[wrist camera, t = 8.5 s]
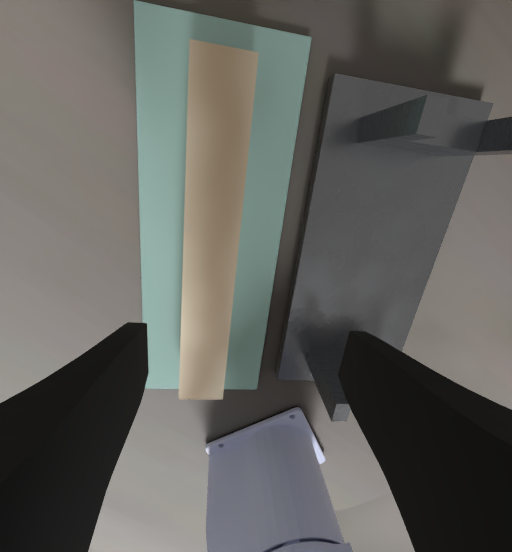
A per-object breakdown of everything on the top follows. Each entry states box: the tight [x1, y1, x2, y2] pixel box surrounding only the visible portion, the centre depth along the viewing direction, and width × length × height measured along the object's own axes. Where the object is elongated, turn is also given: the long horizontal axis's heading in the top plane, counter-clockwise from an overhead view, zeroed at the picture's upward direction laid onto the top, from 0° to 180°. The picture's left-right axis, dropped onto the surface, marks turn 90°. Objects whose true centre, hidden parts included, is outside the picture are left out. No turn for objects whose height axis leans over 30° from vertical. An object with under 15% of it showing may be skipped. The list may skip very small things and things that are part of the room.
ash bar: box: [179, 39, 259, 400], centre depth 17 cm, size 3×20×3 cm, turn 173°
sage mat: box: [134, 0, 312, 390], centre depth 19 cm, size 9×24×1 cm, turn 173°
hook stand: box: [275, 73, 512, 421], centre depth 17 cm, size 10×21×6 cm, turn 173°
